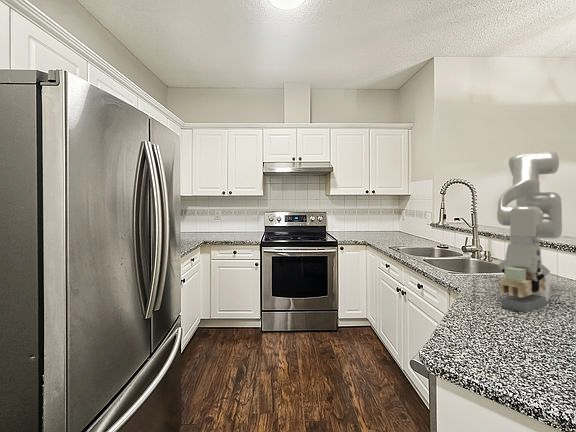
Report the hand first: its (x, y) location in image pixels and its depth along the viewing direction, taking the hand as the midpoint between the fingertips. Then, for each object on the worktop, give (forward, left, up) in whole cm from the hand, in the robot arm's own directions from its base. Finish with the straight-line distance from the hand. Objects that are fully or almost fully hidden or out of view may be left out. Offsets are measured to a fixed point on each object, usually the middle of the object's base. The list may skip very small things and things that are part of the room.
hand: (522, 289), depth 118 cm
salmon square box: (-6, 0, +4) cm, 7 cm away
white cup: (-15, -1, -6) cm, 16 cm away
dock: (-1, 0, -6) cm, 6 cm away
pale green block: (+5, 0, +4) cm, 7 cm away
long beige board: (0, 0, -1) cm, 1 cm away
